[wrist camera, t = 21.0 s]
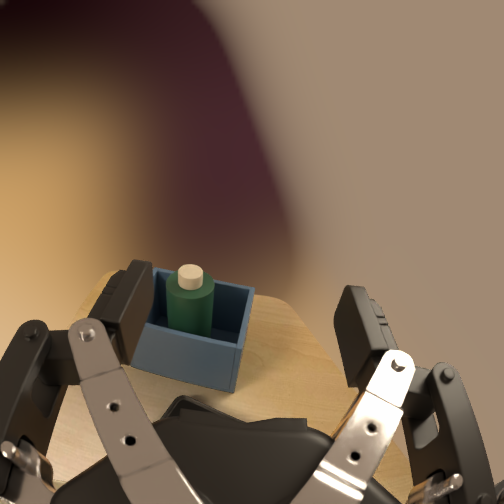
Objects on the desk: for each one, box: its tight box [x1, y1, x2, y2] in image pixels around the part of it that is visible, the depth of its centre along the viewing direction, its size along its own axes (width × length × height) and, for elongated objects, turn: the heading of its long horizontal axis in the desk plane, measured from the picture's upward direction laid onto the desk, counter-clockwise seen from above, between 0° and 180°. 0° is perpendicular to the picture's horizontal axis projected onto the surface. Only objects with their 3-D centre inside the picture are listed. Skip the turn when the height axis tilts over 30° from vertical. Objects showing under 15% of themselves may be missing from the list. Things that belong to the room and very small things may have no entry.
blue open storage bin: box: [130, 267, 255, 393], centre depth 36 cm, size 13×10×8 cm
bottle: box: [166, 264, 215, 338], centre depth 34 cm, size 5×5×12 cm
